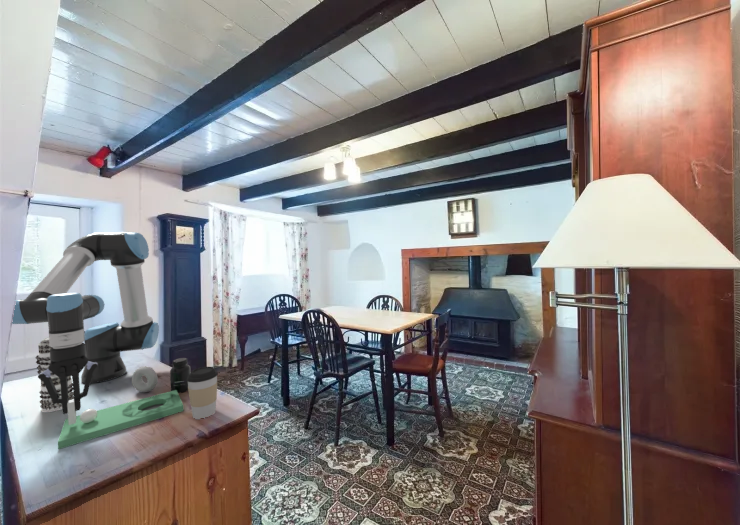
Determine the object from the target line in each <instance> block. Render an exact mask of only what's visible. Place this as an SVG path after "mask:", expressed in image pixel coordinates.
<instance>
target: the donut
mask: <svg viewBox="0 0 740 525" xmlns="http://www.w3.org/2000/svg"><path fill="white" fill-rule="evenodd" d="M132 373H133V374H132V375H131V384H132V387H133V388H134V389H135V390H136V391H137V392H140V393H149V392H151V391H152V390H154V388H156V386H157V384H158V374H157V372H156V371H155V369H153V368H152V367H150V366H141V367H138V368H137V369H135V371H134V372H132ZM143 376H144V377H145V378H146V380H147V381H146V382H145V381H144V380H143Z"/></svg>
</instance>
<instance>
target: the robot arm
mask: <svg viewBox="0 0 740 525" xmlns="http://www.w3.org/2000/svg"><path fill="white" fill-rule="evenodd" d="M148 244H149V243H148V241H147V239H146V238H145V236H144V235H143V234H141V233H140V232H134V231H130V232H129V231H117V232H115V231H111V232H104V231H103V232H102V231H101V232H93V233H90V234H87V235H84V236H81V237H80V238H78V239H76V240H75V241H73V242H72V243H70V244H69V245H68V246H67V247H66V248H65V249H64V250H63V253H62V257H61V259H60V260H59V261H58V262H57V263H56V264H55V265H54V266H53V268H52V269H51V270H50V271H49V272H48V273H47V275H45V277H44V278H43V279H42V280H41V281H40V282H39V283H38V284H37V286H35V288H34V289H33V290H32V291H31V292H30V293H29V294H28V296H27V297H26V298H25V299H18V300H15V301H16V305H15V310H14V317H13V322H12V324H11V325H30V324H31V325H32V324H37V323H38V324H39V323H47V326H48V338H49V346H50V347H52V348H51V349H50V362H51V363H50V365H49V367H48V369H47V370H45V371H44V372H41V373H40V374H38V376H37V378H38V379H39V380H40V381H41V380H42V381H43V382H44V384H45V386H46V389H47V391H48V393H49V395H50V397H51V400H52V402H53V403H54V404H56V403H61V404H62V409H61V411H62V414H63V415H65V414H67V419H68V422H69V425H71V424H75V423H76V420H77V417H76V416H77V412H78V411H80V410H81V408H82V407H81V406H82V405H81V403H82V402H81V399H82V398H85V397H87V396H88V394H89V390H90V386H91V384H97V383H103V382H106V381H110V380H114V379H116V378H119V377H121V376H124V375H125V374H126V373H127V366H126V364H125V362H124V361H123V358H122V356H121V352H129V351H139V350H140V351H141V350H142V351H143V350H145V349H151V348H153V347H154V346H155V345H156V344H157V341H158V339H159V333H160V324H159V323H158V322H156V321H153V317H152V316H150V315H149V313H148V307H147V299H146V292H145V291H146V290H145V286H144V277H143V272H142V271H143V269H142V265H143V264H144V263H145V259H147V258H148V257H149V254H150V253H149V251H150V249H149V245H148ZM98 261H109V262H110V265H111V266H112V267H114V268H115V269H116V275H117V281H118V288H119V294H120V300H121V301H120V302H121V308H122V312H123V314H122V315H123V319H124V320H123V321H122V322H120V324H119V322H109V323H104V324H99V325H96V326H92V327H90V328H87V329H86V330H85V328H84V327H85V325H84V321H85V320H87V319H92V318H94V317H96V316H98V315H99V314H101V313H102V312H103V310H104V308H105V301H104V300H103V298H102V297H101V296H98V295H96V294H85V295H82V294H81V292H80V293H79V292H69V290H70V289H71V288H72V287H73V285H74V284H75V283H76V282H77V280H78V279H79V278H80V276H81V274H82V273H83V272H84V271H85V270H86V268H87V267H89V266H91V265H93V264H94V263H95V262H98ZM50 372H52V373H54V374H55V375H57V376H58V377H60V383H61V397H59V395H58V392H57V390H56V388H55V386H54V383H53V381H52V379H51V377H50V376H51V373H50ZM81 372H82V374H81ZM80 374H81V377H80ZM68 376H71V379H72V383H73V386H72V387H73V391H72V392H73V393H74V395H73V396H74V399H72V400H68V399H69V398H68V381H67V377H68ZM80 378H81V383H83V384H84V386H83V390H82V392H81V384H80Z"/></svg>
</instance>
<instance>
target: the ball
mask: <svg viewBox="0 0 740 525" xmlns="http://www.w3.org/2000/svg"><path fill="white" fill-rule="evenodd" d="M97 411H98V410H97V409H95V408H89V409H86V410H84V411H83V412H81V414H80V415H81V416H80V420H81V422H83V423H90V422H92V421H94V420H95V419H96V417H97V414H98V413H97Z"/></svg>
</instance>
